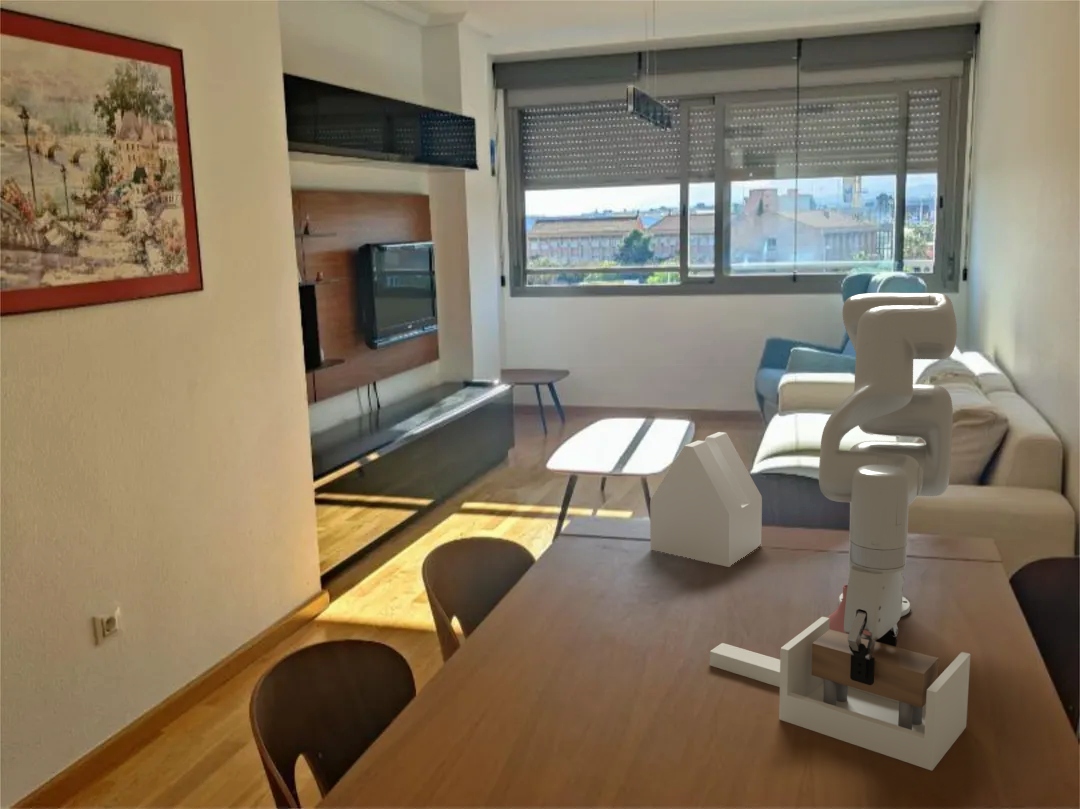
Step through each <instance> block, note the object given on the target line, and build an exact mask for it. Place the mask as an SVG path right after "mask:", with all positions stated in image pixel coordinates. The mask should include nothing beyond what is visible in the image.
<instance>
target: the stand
mask: <svg viewBox="0 0 1080 809" xmlns="http://www.w3.org/2000/svg"><path fill="white" fill-rule="evenodd" d="M829 623H830V618H827V616H821V617H820V618H818V619H817V620H815V621H814V622H813V623H812V624H810V625H809V626H808V627H806V628H805V629H803V630H802V631H801V632H800V633H799V634H797V635H795V636H794V637H793V638H792V639H791V640H789V641H787V642H786V643H785V644H784V645H783V646H781V647H780V651H779V652H780V653H779V654H780V655H779V657H780V658H779V660H780V687H779V707H778V708H779V709H778V710H779V711H778V712H779V713H778V715H779V716H778V717H779V718H778V719H779V720H780V721H783V722H785V723H789V724H790V725H791V724H792V725H794V726H798V727H801V728H804V729H807V730H809V731H813V732H816V733H818V734H822V735H825V736H827V737H830V738H834V739H836V740H839V741H842V742H846V743H847V744H852V745H854V746H856V747H860V748H864V749H866V750H869V751H872V752H875V753H877V754H882V755H884V756H887V757H890V758H893V759H896V760H899V761H902V762H905V763H908V764H910V765H914V766H917V767H920V768H922V769H926V770H928V771H933V770H935V768H936V767H937V765H938V764H939V763H940V761H942V759H943V757H944V756H945V755H946V753H948V751H949V750H950V749H951V748H952V746H953V745H954V743H955V742H956V741H957V739H959V737H960V736H961V735H962V733H963V732H964V731H965V729H966V728H967V720H968V702H969V683H970V668H971V654H970V653H968V652H964V651H961V652H960V653H959V654H958V655H957V656H956V657H955V658H954V660H952V662H950V664H949V665H948V666H947V667H946V668H945V669H944V671H942V673H940V675H938V678H937V679H936V680H935V681H934V682H933V684H932V685H931V686H930V687H929V688H928V689H927V695H926V704H925V705H924V706H923V707H922V708H920V707H917V706H914V705H910V704H907V703H904V702H900V701H897V700H893V699H890V698H887V697H883V696H880V695H877V694H873V693H870V692H867V691H863V690H860V689H857V688H853V687H850V686H847V685H843V684H840V683H836V682H833V681H830V680H826V679H823V678H820V677H816V676H813V675H811V672H812V643H813V642H814V641H816V640H817V639H818V638H819V637H821V636H822V635H823V634H825V633H826V632H827V631H828V630H829Z"/></svg>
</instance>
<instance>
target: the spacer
mask: <svg viewBox="0 0 1080 809" xmlns="http://www.w3.org/2000/svg"><path fill="white" fill-rule="evenodd" d="M709 666H710V667H714V668H718V669H720V670H722V671H723V670H724V671H725V672H726V671H727V672H730V673H733V674H737V675H739V676H743V677H745V678H746V677H747V678H748V679H749V678H750V679H752V680H756V681H759V682H762V683H765V684H768V685H771V686H775V687H778V688H780V658H776V657H772V656H769V655H765V654H762V653H759V652H755V651H751V650H748V649H745V648H741V647H737V646H735V645H731V644H728V643H724V642H721V643H720V644H719V645H717V646H715V647H714V648H713V649H712V648H711V650H710V651H709Z"/></svg>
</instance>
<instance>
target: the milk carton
mask: <svg viewBox="0 0 1080 809" xmlns="http://www.w3.org/2000/svg"><path fill="white" fill-rule="evenodd" d="M762 499H763V496H762V495H761V492H760V491H759V489H758V487H757V486H756V484H755V482H754V480H753V478H752V477H751V475H750V472H749V471H748V469H747V467H746V466H745V464H744V462H743V460H742V458H741V456H740V454H739V452H738V451H737V449H736V447H735V445H734V443H733V441H732V439H731V438H730V437H729V435H728V432H722V431H718V432H715V433H712V434H710V435H707V436H705V438H704V440H700V439H699V440H698V439H697V440H696V441H693V442H690V443H687V444H685V445H684V446H683V447H682V449H681V451H680V452H679V454H678V456H677V457H676V458H675V460H674V462H673V464H671V467H670V468H669V470H668V472H667V473H666V474H665V476H664V477H663V479H662V481H661V482H660V484H659V485H658V487H657V489H656V490H655V493H654V494H653V495H652V497H651V499H650V500H649V512H650V513H649V515H650V516H649V517H650V518H649V519H650V525H649V527H650V528H649V529H650V530H649V531H650V532H649V533H650V535H649V536H650V550H651V549H652V550H656V551H655V552H657V551H661V552H660V553H662V552H665V553H664V554H666V553H669V554H668V555H671V554H674V555H673V556H676V555H678V556H677V557H680V556H683V557H682V558H685V557H687V558H686V559H689V558H691V560H694V559H695V561H700V562H704V563H708V562H709V563H708V564H712V565H719V566H723V567H728V568H730V567H732V566H733V565H735V564H736V563H737V561H738V560H739V561H741V560H742V559H744V558H745V556H746V555H747V554H749V553H750V552H752V551H753V550H754V549H756V548H757V547H758V546H759V545H760V544H761V545H762V528H763V527H762V522H763V521H762V520H763V518H762V517H763V515H762V514H763V500H762ZM652 550H651V551H652ZM753 552H754V551H753ZM753 552H752V553H753ZM750 554H751V553H750ZM750 554H749V555H750ZM747 556H748V555H747ZM747 556H746V557H747ZM743 557H744V558H743ZM741 558H742V559H741ZM740 559H741V560H740ZM739 561H738V562H739ZM735 562H736V563H735ZM734 563H735V564H734ZM732 564H733V565H732ZM731 565H732V566H731Z"/></svg>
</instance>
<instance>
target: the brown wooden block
mask: <svg viewBox="0 0 1080 809" xmlns="http://www.w3.org/2000/svg"><path fill="white" fill-rule="evenodd" d="M848 635H849V634H846V633H842V632H838V631H834V630H828V631H827V632H826V633H825V634H823V635H822V636H821V637H819V638H818V639H817V640H816V641H814V642H813V643H812V672H811V675H813V676H816V677H820V678H823V679H826V680H830V681H833V682H836V683H840V684H843V685H847V686H850V687H853V688H857V689H860V690H863V691H867V692H870V693H873V694H877V695H880V696H883V697H887V698H890V699H893V700H897V701H900V702H904V703H907V704H910V705H914V706H917V707H920V708H922V707H923V706H924V705H925V704H926V695H927V689H928V688H929V687H930V686H931V685H932V684H933V682H934V681H935V680H936V679H937V678H938V677H939V662H940V658H939V657H937V656H934V655H933V656H932V655H929V654H925V653H921V652H917V651H913V650H911V649H910V650H909V649H906V648H903V647H902V648H901V647H898V646H897V647H895V646H891V645H887V644H884V643H880V642H876V641H875V646H874V650H873V654H872V657H873V658H875V667H874V683H873V684H872V685H867V684H864V683H860V682H857V681H854V680H852V679H851V678H850V669H851V655H850V647H849V643H848ZM868 642H869V640H865V639H862V638H861V643H862V644H864V645H865V647H866V648H867V646H868Z"/></svg>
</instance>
